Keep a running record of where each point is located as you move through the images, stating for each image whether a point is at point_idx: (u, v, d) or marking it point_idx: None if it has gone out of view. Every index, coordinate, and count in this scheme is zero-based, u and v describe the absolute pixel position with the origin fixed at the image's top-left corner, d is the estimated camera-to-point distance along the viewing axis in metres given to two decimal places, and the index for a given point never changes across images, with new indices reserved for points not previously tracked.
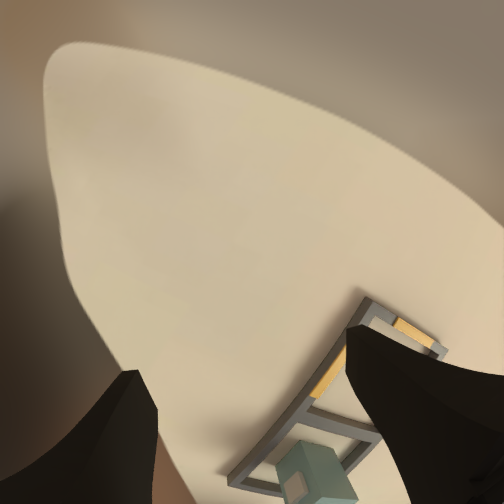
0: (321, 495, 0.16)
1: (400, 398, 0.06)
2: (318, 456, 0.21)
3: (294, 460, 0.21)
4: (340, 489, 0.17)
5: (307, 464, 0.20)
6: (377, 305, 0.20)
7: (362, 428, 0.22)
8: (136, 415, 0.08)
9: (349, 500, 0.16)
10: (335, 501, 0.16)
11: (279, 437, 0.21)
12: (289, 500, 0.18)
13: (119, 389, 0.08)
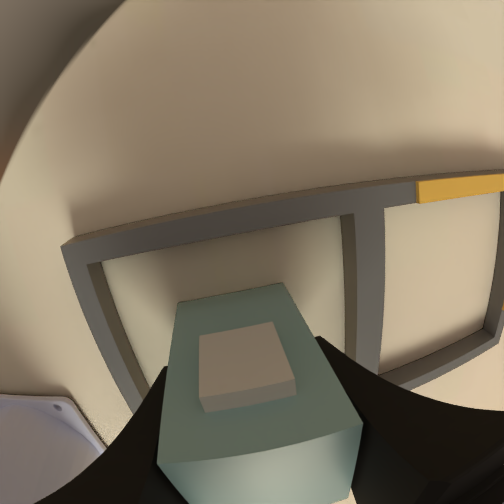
0: (359, 418, 0.05)
1: None
2: None
3: (250, 308, 0.10)
4: None
5: (301, 326, 0.08)
6: None
7: None
8: None
9: (346, 487, 0.06)
10: (338, 469, 0.05)
11: (297, 211, 0.09)
12: (206, 385, 0.06)
13: None
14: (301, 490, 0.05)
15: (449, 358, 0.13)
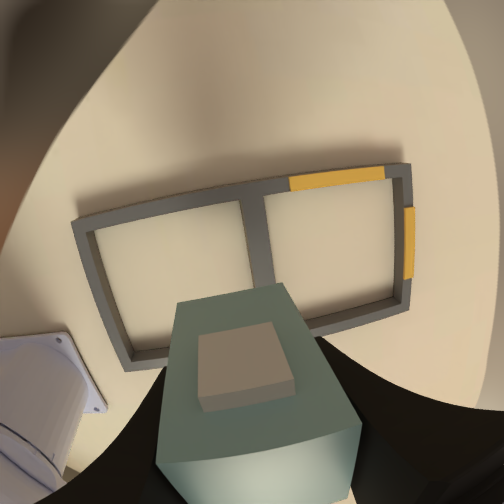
0: (358, 418, 0.05)
1: None
2: None
3: (250, 308, 0.10)
4: None
5: (301, 326, 0.08)
6: (410, 171, 0.17)
7: None
8: None
9: (345, 487, 0.06)
10: (338, 469, 0.05)
11: (203, 199, 0.16)
12: (205, 385, 0.06)
13: None
14: (300, 490, 0.05)
15: (352, 316, 0.20)
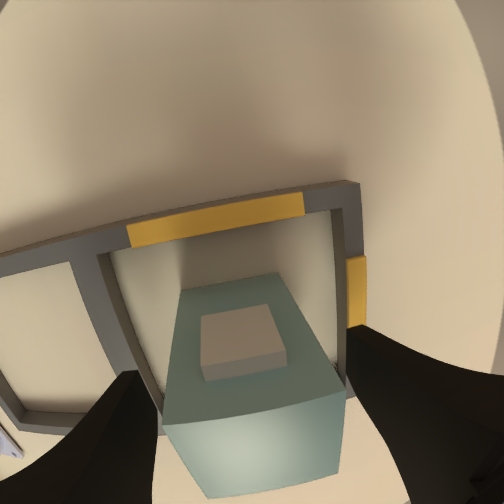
0: (343, 385, 0.06)
1: (400, 398, 0.06)
2: None
3: (248, 294, 0.11)
4: None
5: (294, 309, 0.09)
6: (358, 197, 0.11)
7: (149, 390, 0.12)
8: (136, 415, 0.08)
9: (335, 459, 0.07)
10: (326, 438, 0.06)
11: (28, 261, 0.10)
12: (207, 356, 0.07)
13: (119, 389, 0.08)
14: (293, 460, 0.06)
15: None
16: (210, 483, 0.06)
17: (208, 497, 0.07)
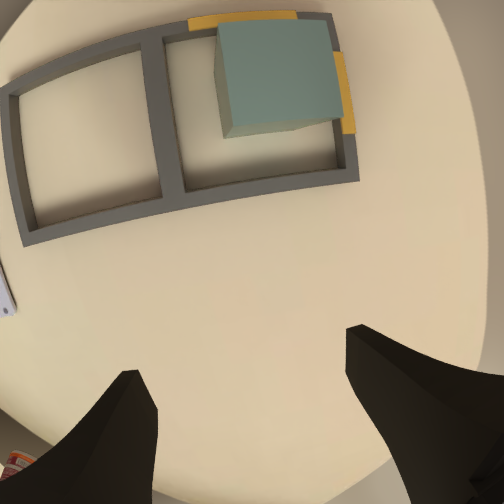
0: (324, 23, 0.09)
1: (400, 398, 0.06)
2: None
3: None
4: None
5: None
6: (331, 20, 0.13)
7: (177, 148, 0.15)
8: (136, 415, 0.08)
9: (336, 91, 0.10)
10: (324, 58, 0.09)
11: (106, 46, 0.12)
12: None
13: (119, 389, 0.08)
14: (303, 74, 0.09)
15: (278, 176, 0.16)
16: (239, 94, 0.09)
17: (234, 122, 0.09)
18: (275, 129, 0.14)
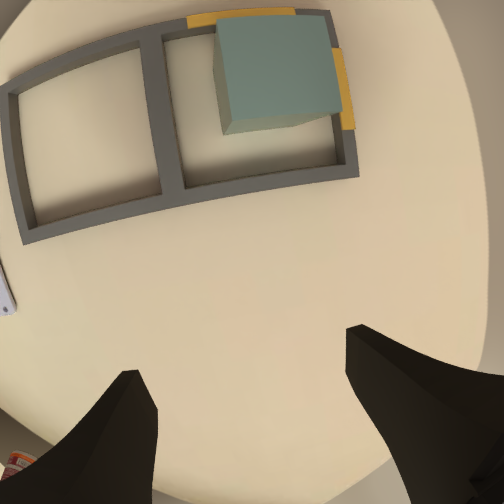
0: (322, 18, 0.09)
1: (400, 398, 0.06)
2: None
3: None
4: None
5: None
6: (330, 16, 0.13)
7: (176, 144, 0.15)
8: (136, 415, 0.08)
9: (335, 85, 0.09)
10: (322, 53, 0.09)
11: (105, 44, 0.12)
12: None
13: (119, 389, 0.08)
14: (301, 69, 0.09)
15: (278, 172, 0.16)
16: (238, 89, 0.09)
17: (233, 116, 0.09)
18: (274, 125, 0.14)
